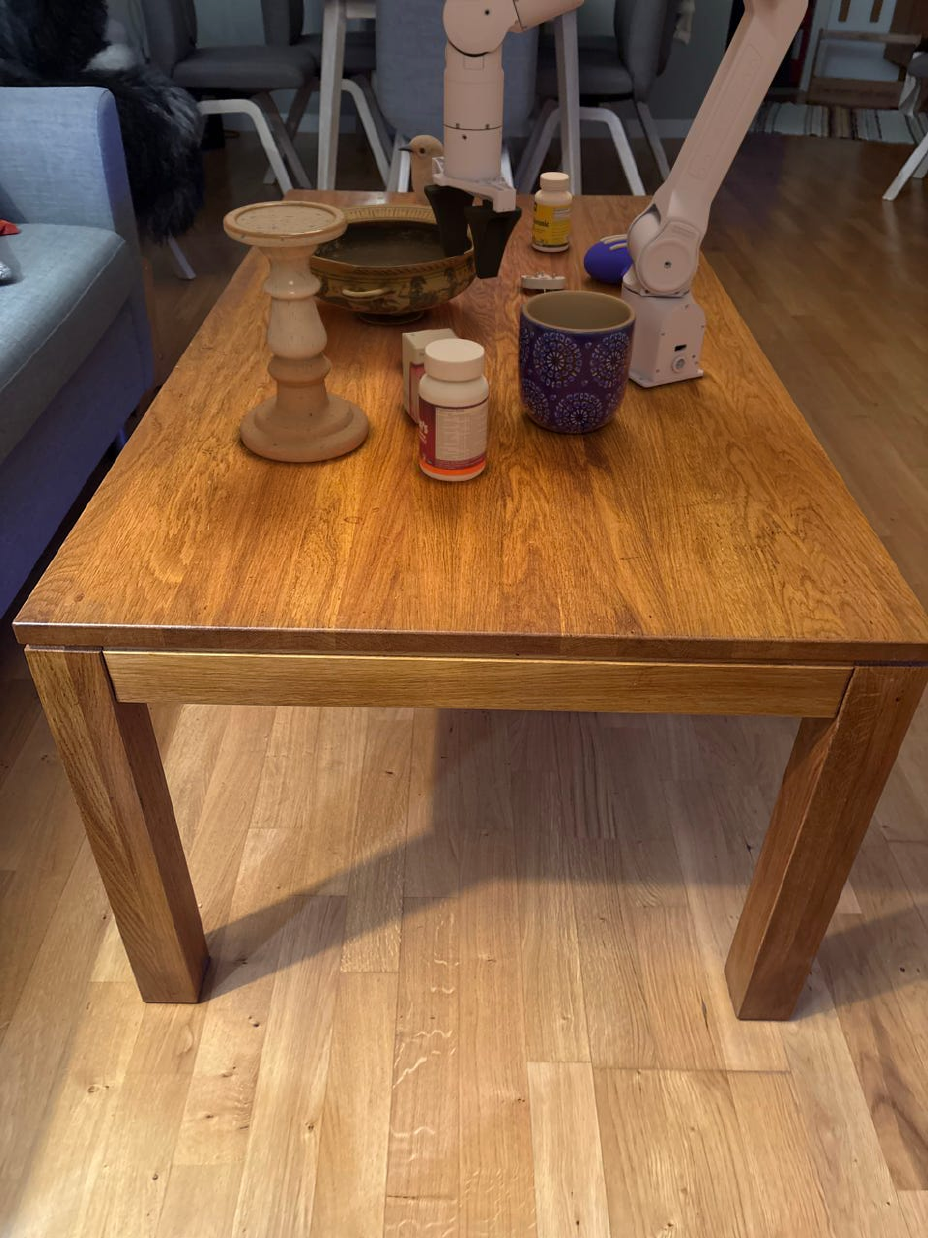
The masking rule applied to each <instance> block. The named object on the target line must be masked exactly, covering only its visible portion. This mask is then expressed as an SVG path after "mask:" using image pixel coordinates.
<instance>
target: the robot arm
mask: <svg viewBox="0 0 928 1238" xmlns="http://www.w3.org/2000/svg"><path fill="white" fill-rule="evenodd" d="M742 1H743V5H744V12H743V15H742V17H741V19H740V22H739V24H738V25H737V28H736V29H735V32H734V33H733V36H732V38H731V41H730V43H729V45H728V47H727V49H726V51H725V53H724V56H723V58H722V60H721V62H720V64H719V66H718V68H717V71H716V73H715V75H714V77H713V79H712V82H711V84H710V85H709V88H708V90H707V93H706V94H705V97H704V98H703V101H702V103H701V105H700V108H699V109H698V112H697V114H696V116H695V118H694V120H693V123H692V125H691V127H690V129H689V131H688V134H687V135H686V138H685V139H684V142H683V144H682V146H681V149H680V151H679V153H678V155H677V157H676V160H675V162H674V163H673V166H672V168H671V170H670V172H669V175H668V177H667V179H666V180H665V181H664V182H663V183H662V184H661V185H660V186H659V187H658V189H657V190H656V191H655V192H654V195H653V197H652V198H651V200H650V203H649V204H648V206H647V207H646V208H645V209H644V210H643V211H642V212H641V213H639V214H638V215H637V216H636V217H635V218H634V220H633V221H632V222H631V224H630V226H629V228H628V230H627V233H626V234H627V239H626V243H627V249H628V252H629V254H630V256H631V258H632V259H633V264H632V265H631V267H630V269H629V270H628V272H627V273H626V274H625V275H624V277H623V284H621V291H620V292H621V293H620V299H621V300H623V301H625V302H627V303H628V304H630V305H631V306H632V307H633V308H634V310H635V311H636V329H635V337H634V345H633V353H632V359H631V366H630V373H629V378H628V379H631V380H632V381H634V382H635V383H636V384H638V385H639V386H641V387H642V388H652V387H657V386H660V385H661V386H662V385H666V384H671V383H675V382H679V381H680V382H681V381H684V380H689V379H694V378H698V377H702V376H704V373H705V371H704V370H703V369H701V368H700V367H699V366H700V362H701V355H702V350H703V343H704V338H705V332H706V328H707V327H706V326H707V316H706V313H705V311H704V309H703V308H702V307H701V305H700V304H698V303H697V302H696V301H695V299H694V297H693V294H692V283H693V282H692V280H693V279H694V278H695V275H696V274H697V272H698V271H697V270H698V268H699V263H700V262H699V259H700V258H699V257H700V247H701V244H702V241H703V239H704V237H705V235H706V233H707V230H708V225H709V218H710V212H711V207H712V206H711V205H712V202H713V200H714V199H715V197H716V195H717V193H718V191H719V189H720V187H721V185H722V183H723V180H724V179H725V177H726V175H727V173H728V171H729V169H730V167H731V164H732V163H733V161H734V160H735V159H734V158H735V156H736V155H737V153H738V150H739V148H740V146H741V144H742V142H743V141H744V139H745V137H746V134H747V132H748V130H749V128H750V126H751V124H752V123H753V120H754V119H755V116H756V115H757V113H758V110H759V108H760V106H761V104H762V102H763V101H764V98H765V97H766V94H767V92H768V90H769V88H770V86H771V84H772V82H773V80H774V78H775V76H776V74H777V72H778V70H779V68H780V66H781V64H782V62H783V60H784V58H785V56H786V54H787V52H788V50H789V48H790V46H791V44H792V42H793V40H794V38H795V36H796V34H797V32H798V30H799V28H800V26H801V24H802V22H803V19H804V18H805V16H806V13H807V9H808V6H809V0H742ZM584 2H585V0H445V3H444V5H443V10H442V12H443V13H442V23H443V29H444V31H445V34H446V36H447V41H446V45H445V48H444V61H445V63H446V67H445V68H444V70H443V148H444V157H437V158H432V177H433V182H434V183H436V184H434V185H427V186H425V187H424V193H425V195H426V197H427V199H428V201H429V203H430V205H431V207H432V210H433V212H434V215H435V219H436V222H437V226H438V230H439V235H440V240H441V244H442V249H443V253H444V256H445V257H447V258H448V257H455V256H462V255H464V252H465V247H466V241H467V231H468V224H469V227H470V230H471V235H472V240H473V247H474V261H475V270H476V278H477V279H479V280H486V279H493V278H497V277H498V275H499V272H500V269H501V266H502V265H501V264H502V261H503V257H504V253H505V250H506V247H507V245H508V242H509V239H510V237H511V236H512V233H513V231H514V229H515V227H516V225H517V224H518V222H519V221H520V219H521V218H522V216H523V209H522V207H520V206H519V205H516V203H517V202H516V201H517V189H516V188H514V187H513V186H511V185H510V183H509V181H508V180H507V179H506V176H505V175H504V174H503V172H502V169H501V168H502V147H503V145H502V144H503V142H502V141H503V118H504V117H503V114H504V113H503V112H504V89H505V88H504V86H505V71H504V69H503V67H502V62H503V61H502V58H503V41H504V38H505V37H506V34H507V33H508V32H511V33H512V32H513V33H515V34H521V33H523V32H525V31H527V30H530V29H532V28H534V27H536V26H539V25H540V24H543V23H545V22H547V21H549V20H552V19H554V18H556V17H559V16H560V15H562V14H565V13H567V12H571V11H572V10H574V9H576V8H579V7H581V6H582V5H583V4H584ZM475 198H477V199H479V200H480V201H482V203H481V204H482V205H481V204H478V205H477V206H472V204H473V201H475Z"/></svg>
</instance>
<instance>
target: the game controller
mask: <svg viewBox="0 0 928 1238" xmlns="http://www.w3.org/2000/svg"><path fill="white" fill-rule="evenodd" d="M539 273H540V272H538V271H536V272H535V276H532V275H527V274H526V275H525V274H524V275H521V276H520V277H521V278H520V286H521V287H523V289H524V288H525V289H535V290H543V291H544V293H547V291H546V290H562V289H564V288H565V284H566V277H565V276H556V273H555V272H553V273H551V274H552V277H551V276H550V275H548V274H547V273H545V270H541V273H540V274H539Z"/></svg>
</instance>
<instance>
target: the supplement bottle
mask: <svg viewBox="0 0 928 1238" xmlns="http://www.w3.org/2000/svg"><path fill="white" fill-rule="evenodd" d="M569 182H570V176H569V175H568V174H566V173H564V172H556V171H554V172H552V171H551V172H550V171H549V172H545V173H542V174H541V175H540V177H539V187H540V188H541V189H539V190H538V191H536V193H535V195H534V201H533V216H532V217H533V219H532V237H531V239H532V240H531V245H532V247H533V248H534V249H536V250H537V251H541V252H545V253H559V252H563V251H566V250H567V249H568V248H569V246H570V236H571V235H570V234H571V224H572V223H571V222H572V211H573V210H572V209H573V195H572V194H571V191H568V190H567V189H569V185H570V184H569Z"/></svg>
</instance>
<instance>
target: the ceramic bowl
mask: <svg viewBox="0 0 928 1238" xmlns="http://www.w3.org/2000/svg"><path fill="white" fill-rule="evenodd" d="M337 208H338V209H340V210H342V211H343V212H344V213H345V214H346V216H347V219H348V226H347V229H346V231H345V232H344V234H342V235H341V236H339V237H337V238H335V239H333V240H330V241H327V242H324V243H321V244H319V245H318V247H317V249H316V251H315V252H314V253H313V254H312V255H311V258H310V270H311V273H312V274H313V275H314V276H315V277H316V278H317V279H318V280H319V281H320V284H321V287H320V290H319V291H318V292H317V293H316V294H314V296H315V298H318V299H320V300H321V301H324V302H325V303H328V304H330V305H333V306H335V307H337V308H342V309H345V310H349V311H354V312H357V314H358V318H360V319H361V320H362V321H364V322H368V323H369V324H370V323H371V324H376V325H387V326H389V325H390V326H391V325H402V324H409V323H411V322H415V321H417V320H419V319H421V318H422V316H423V315H424V313H425V311H424V310H428V309H431V308H435V307H438V306H441V305H442V304H444V303H447V302H449V301H451V300H453V299H454V298H456V297H458V296H460V295H461V294H462V293H464V292H465V291H466V290H467V289H468V288H469V287H470V286H471V285H472V283H474V281H475V279H476V278H477V275H476V270H475V261H474V247H473V240H472V235H471V230H470V227H469V224H468V231H467V241H466V247H465V252H464V255H462V256H455V257H448V258H447V257H445V256H444V253H443V249H442V244H441V240H440V235H439V230H438V226H437V222H436V219H435V215H434V212H433V210H432V207H431V206H422V205H421V204H409V203H378V204H363V205H352V206H351V205H350V206H344V207H337Z"/></svg>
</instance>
